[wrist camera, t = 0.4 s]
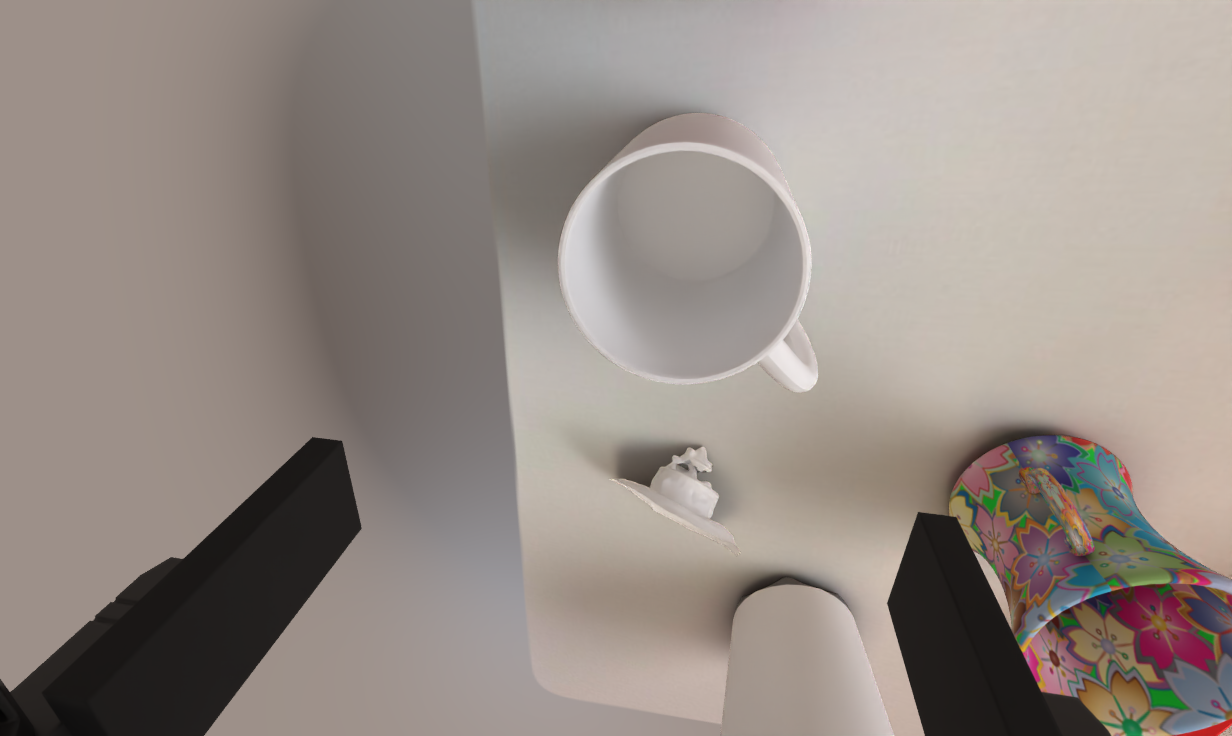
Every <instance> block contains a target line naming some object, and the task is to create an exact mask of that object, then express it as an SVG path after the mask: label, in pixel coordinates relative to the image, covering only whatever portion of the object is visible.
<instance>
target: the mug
mask: <svg viewBox="0 0 1232 736" xmlns="http://www.w3.org/2000/svg"><path fill="white" fill-rule="evenodd" d="M949 515H950V516H953V517H957V519H958V521H959V523H960V525H961V527H962V529H963V531H964V533H965V536H966V538H967V540H968V542H969V544H970V546H971V548H972V550H973V551H975V552H976V553H978V554H980V555H981V556H982V557H984V558H985V559H986V561H987V562H988V563H989V564H990V566H991V567H992V568H993V570H994V571H995V573H996V575H997V576H998V578H999V580H1000V582H1001V584H1002V587H1003V589H1004V592H1005V595H1006V598H1007V602H1008V606H1009V611H1010V616H1011V624H1012V632H1013V634H1014V636H1015V638H1016V641H1017V643H1018V645H1019V647H1020V649H1021V651H1022V653H1023V655H1024V657H1025V659H1026V661H1027V663H1028V665H1029V667H1030V669H1031V671H1032V673H1033V676H1034V678H1035V680H1036V682H1037V684H1038V686H1039V688H1040V690H1041V692H1047V693H1053V694H1060V695H1066V696H1072V697H1078V698H1079V699H1080V701H1081V702H1082V703H1083V704H1084V705H1085V706H1086V707H1087V708H1088V709H1089V710H1090V711H1091V712H1092V713H1093V714H1094V716H1095V717H1096V718H1097V719H1098V720H1099V721H1100V722H1101V723H1102V724H1103V725H1104V726H1105V727H1106V728H1107V729H1108V731H1109V733H1110V734H1111V736H1172V735H1179V734H1184V733H1188V732H1193V731H1197V730H1201V729H1204V728H1207V727H1211V726H1214V725H1217V724H1219V723H1222V722H1224V721H1227V720H1229V719H1231V718H1232V579H1229V578H1227V577H1225V576H1223V575H1221V574H1219V573H1217V572H1215V571H1213V570H1211V569H1209V568H1207V567H1205V566H1204V565H1202V564H1200V563H1198V562H1197V561H1195V560H1193V559H1192V558H1190V557H1188V556H1187V555H1185V554H1184V553H1183V552H1181V551H1180V550H1178V549H1177V548H1175V547H1174V546H1173V545H1172V544H1170V543H1169V542H1168V541H1167V540H1165V539H1164V538H1163V537H1162V536H1161V535H1160V534H1159V533H1158V532H1157V531H1156V530H1154V529H1153V528H1152V526H1151V525H1150V524H1149V523H1148V522H1147V521H1146V519H1145V518H1144V517H1143V516H1142V514H1141V513H1140V511H1139V509H1138V508H1137V506H1136V504H1135V502H1134V499H1133V487H1132V482H1131V479H1130V476H1129V474H1128V472H1127V470H1126V468H1125V466H1124V465H1123V464H1122V462H1121V461H1120V460H1119V459H1118V458H1117V457H1116V456H1115V455H1113V454H1112V453H1111V452H1109V451H1108V450H1106V449H1105V448H1103V447H1101V446H1099V445H1097V444H1095V443H1093V442H1090V441H1087V440H1084V439H1080V438H1076V437H1071V436H1061V435H1044V436H1034V437H1028V438H1023V439H1019V440H1015V441H1012V442H1009V443H1006V444H1003V445H1001V446H999V447H997V448H995V449H993V450H991V451H989V452H987V453H986V454H984V455H982V456H981V457H980V458H978V459H977V460H976V461H974V462H973V463H972V464H971V465H970V466H969V467H968V468H967V469H966V470H965V471H964V472H963V474H962V475H961V476H960V478H959V479H958V481H957V482H956V484H955V486H954V488H953V490H952V493H951V497H950V501H949Z"/></svg>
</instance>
